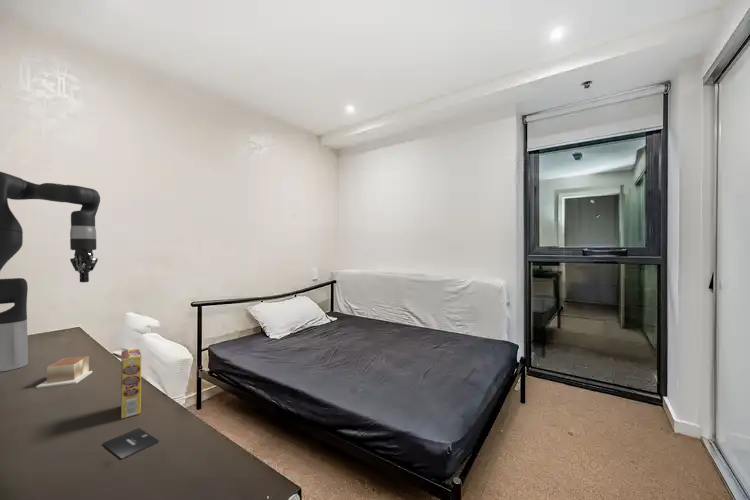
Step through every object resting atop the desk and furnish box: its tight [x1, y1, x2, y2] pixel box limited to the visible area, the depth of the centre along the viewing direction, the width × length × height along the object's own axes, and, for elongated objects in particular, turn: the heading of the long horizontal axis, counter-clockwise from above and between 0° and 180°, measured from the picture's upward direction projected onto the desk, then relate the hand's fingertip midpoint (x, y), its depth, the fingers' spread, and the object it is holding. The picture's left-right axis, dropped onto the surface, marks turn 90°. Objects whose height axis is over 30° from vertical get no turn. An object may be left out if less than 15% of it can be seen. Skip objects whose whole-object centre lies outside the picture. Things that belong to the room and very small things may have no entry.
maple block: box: [46, 355, 90, 383], centre depth 107 cm, size 5×7×9 cm
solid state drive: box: [102, 427, 160, 461], centre depth 70 cm, size 7×10×1 cm
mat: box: [35, 370, 93, 389], centre depth 105 cm, size 10×10×1 cm
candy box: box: [120, 348, 142, 419], centre depth 85 cm, size 9×4×15 cm, turn 39°
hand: (84, 282), depth 123 cm, fingers closed
